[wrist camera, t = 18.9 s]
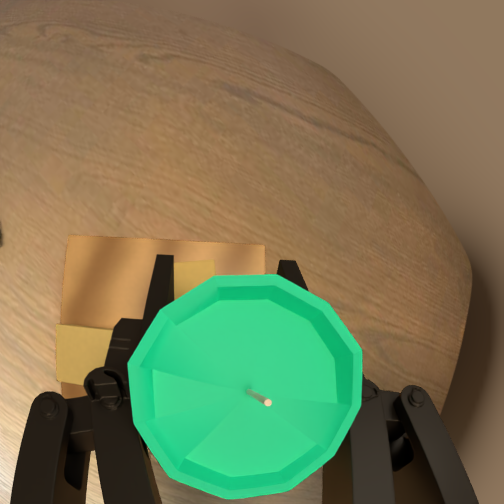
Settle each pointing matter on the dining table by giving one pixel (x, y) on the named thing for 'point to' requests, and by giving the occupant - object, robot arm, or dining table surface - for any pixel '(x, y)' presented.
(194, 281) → the butter slice
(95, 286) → the butter board
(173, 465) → the candle
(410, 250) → the dining table surface
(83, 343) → the butter block
